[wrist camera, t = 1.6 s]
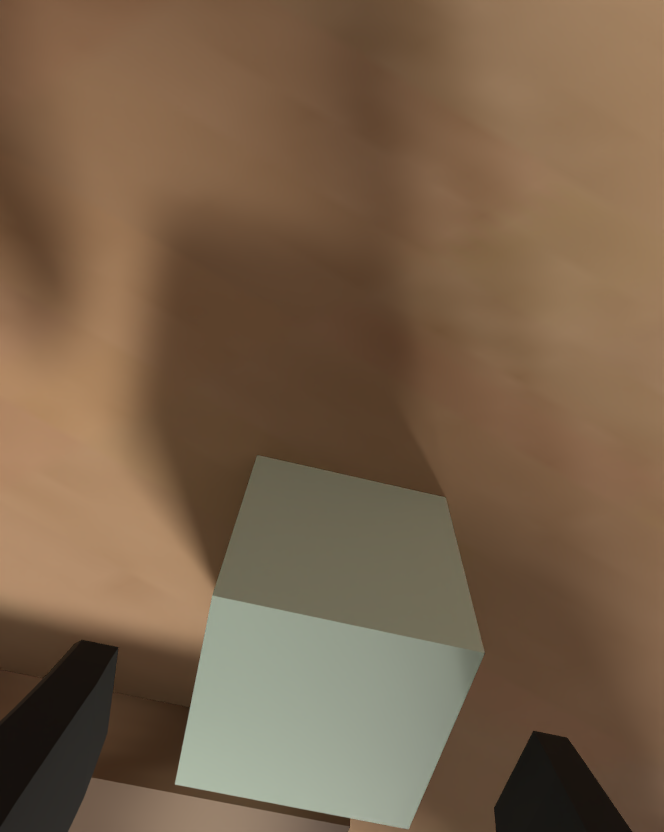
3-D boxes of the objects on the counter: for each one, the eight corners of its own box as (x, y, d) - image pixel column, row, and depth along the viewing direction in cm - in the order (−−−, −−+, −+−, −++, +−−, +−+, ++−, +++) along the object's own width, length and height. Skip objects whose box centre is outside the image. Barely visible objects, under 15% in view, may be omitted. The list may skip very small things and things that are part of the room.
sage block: (445, 496, 15) (484, 652, 10) (394, 640, 17) (408, 829, 12) (257, 453, 15) (212, 595, 10) (225, 605, 16) (174, 784, 12)
